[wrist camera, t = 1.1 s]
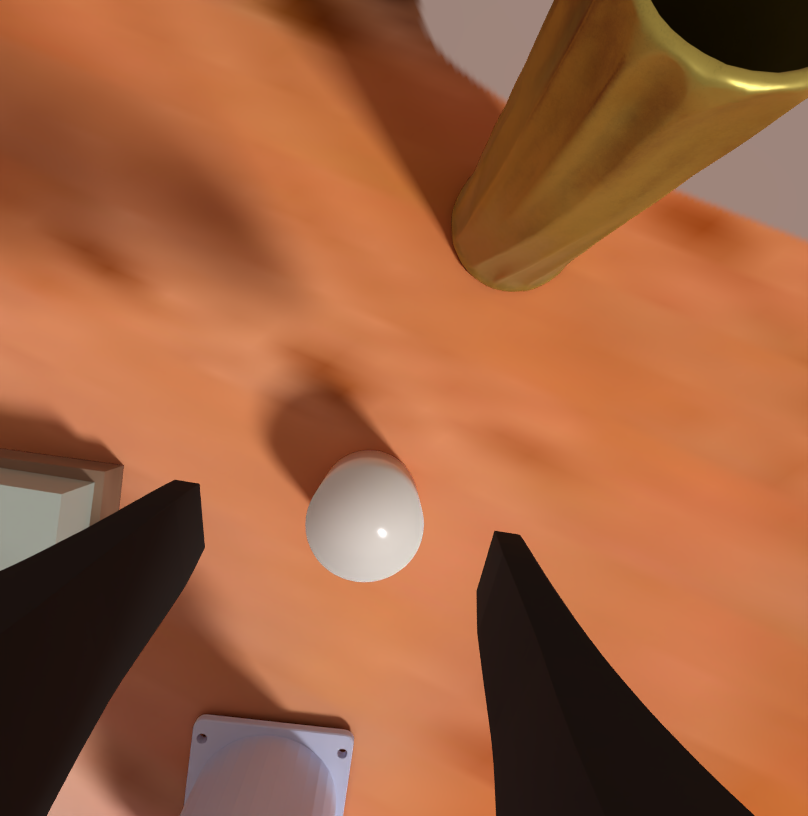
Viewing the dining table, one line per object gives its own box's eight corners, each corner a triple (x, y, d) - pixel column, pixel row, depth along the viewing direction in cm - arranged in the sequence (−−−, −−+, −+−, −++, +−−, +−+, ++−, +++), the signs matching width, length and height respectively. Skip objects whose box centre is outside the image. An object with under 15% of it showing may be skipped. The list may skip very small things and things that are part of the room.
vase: (429, 195, 21) (520, -208, 6) (546, 140, 21) (897, -385, 6) (481, 313, 21) (674, 185, 7) (595, 260, 21) (1024, 21, 7)
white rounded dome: (409, 549, 22) (414, 588, 18) (314, 537, 22) (298, 574, 18) (423, 457, 22) (431, 475, 18) (327, 443, 21) (314, 459, 17)
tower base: (114, 615, 22) (87, 639, 20) (-48, 596, 22) (-92, 618, 20) (130, 462, 22) (104, 471, 20) (-36, 440, 21) (-79, 446, 19)
